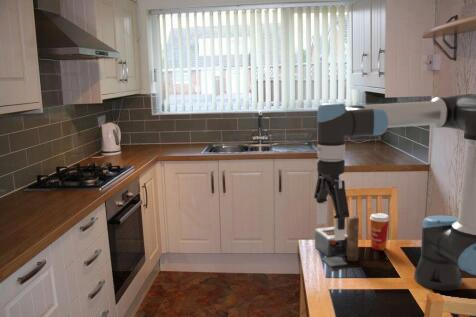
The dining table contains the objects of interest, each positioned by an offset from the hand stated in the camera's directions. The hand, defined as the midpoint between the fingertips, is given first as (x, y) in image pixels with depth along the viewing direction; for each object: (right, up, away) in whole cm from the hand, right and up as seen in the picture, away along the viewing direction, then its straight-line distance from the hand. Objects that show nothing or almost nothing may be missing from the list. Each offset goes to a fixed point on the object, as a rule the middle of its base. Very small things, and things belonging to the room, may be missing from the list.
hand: (330, 231), depth 127 cm
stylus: (+18, -18, +46) cm, 53 cm away
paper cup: (+32, -16, +56) cm, 67 cm away
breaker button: (+12, -14, +54) cm, 57 cm away
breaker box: (+12, -17, +54) cm, 58 cm away
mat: (+11, -19, +43) cm, 49 cm away
